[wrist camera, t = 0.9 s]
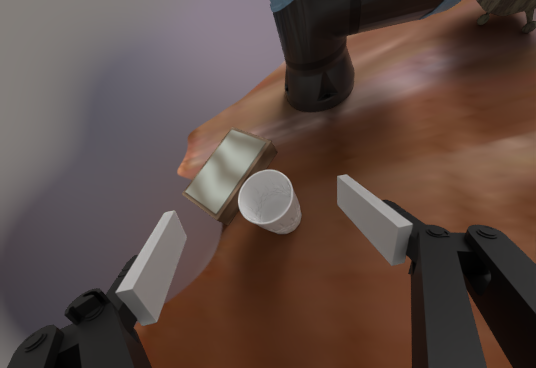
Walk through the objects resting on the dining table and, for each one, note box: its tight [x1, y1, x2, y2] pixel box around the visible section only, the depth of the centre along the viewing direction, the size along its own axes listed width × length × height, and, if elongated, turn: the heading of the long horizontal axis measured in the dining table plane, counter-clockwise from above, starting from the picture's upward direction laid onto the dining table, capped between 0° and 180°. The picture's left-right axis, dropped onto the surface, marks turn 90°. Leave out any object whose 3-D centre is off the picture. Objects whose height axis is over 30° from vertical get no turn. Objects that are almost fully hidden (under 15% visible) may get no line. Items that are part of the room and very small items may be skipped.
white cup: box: [238, 170, 302, 234], centre depth 30 cm, size 8×8×10 cm
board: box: [182, 127, 277, 225], centre depth 40 cm, size 18×11×4 cm, turn 145°
